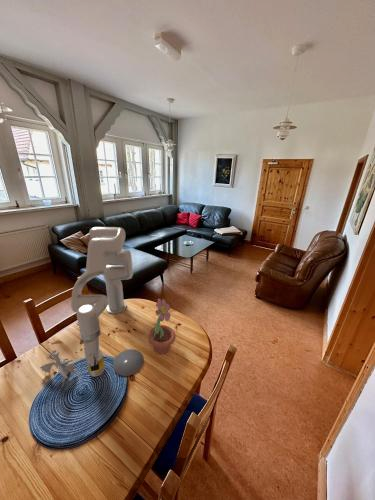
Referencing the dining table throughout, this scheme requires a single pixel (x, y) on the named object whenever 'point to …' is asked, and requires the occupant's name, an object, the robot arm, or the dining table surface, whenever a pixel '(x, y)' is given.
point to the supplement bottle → (101, 365)
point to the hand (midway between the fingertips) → (95, 362)
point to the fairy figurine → (59, 365)
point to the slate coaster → (128, 362)
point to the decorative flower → (161, 330)
